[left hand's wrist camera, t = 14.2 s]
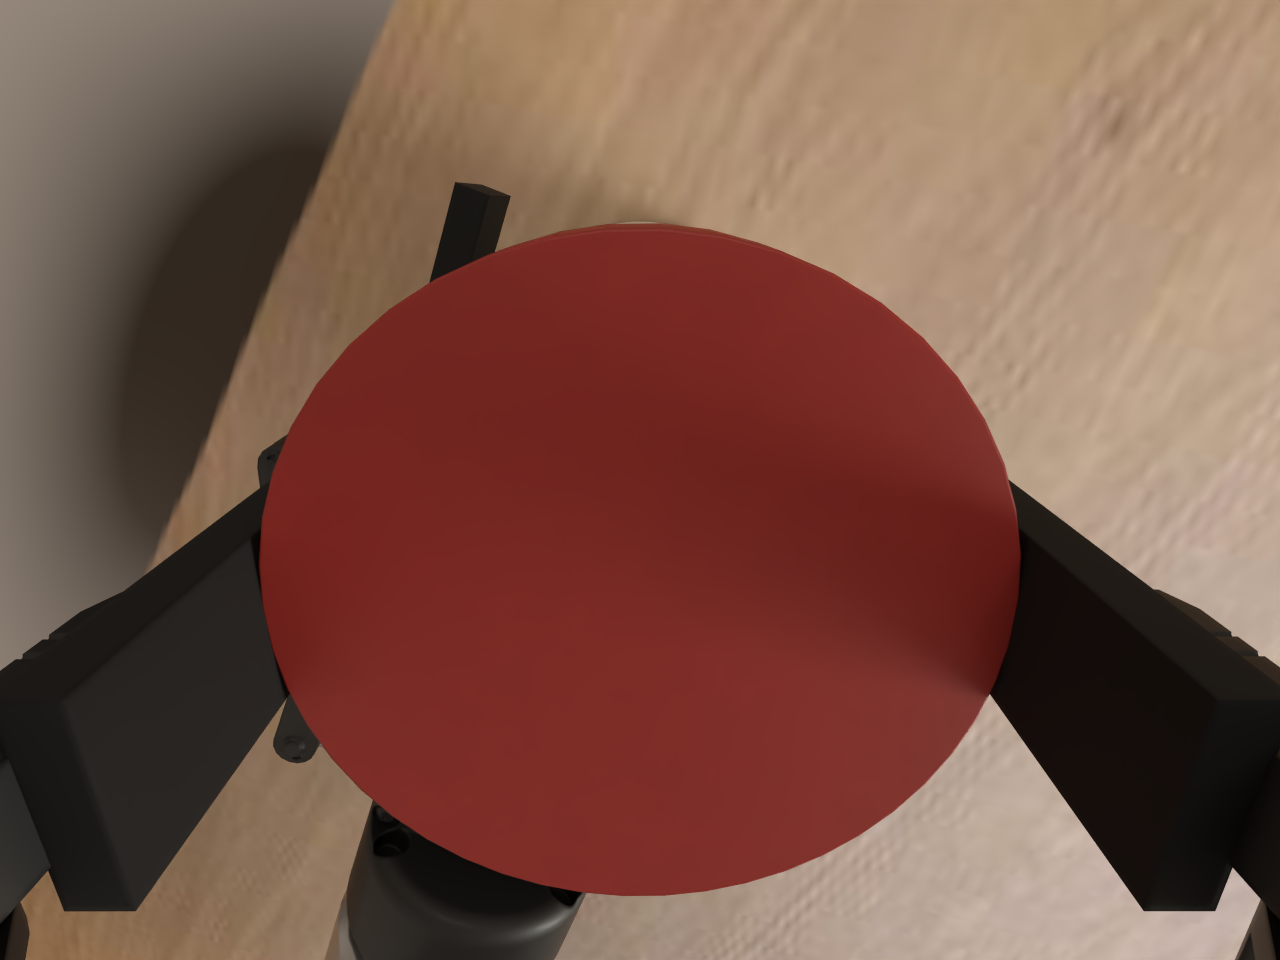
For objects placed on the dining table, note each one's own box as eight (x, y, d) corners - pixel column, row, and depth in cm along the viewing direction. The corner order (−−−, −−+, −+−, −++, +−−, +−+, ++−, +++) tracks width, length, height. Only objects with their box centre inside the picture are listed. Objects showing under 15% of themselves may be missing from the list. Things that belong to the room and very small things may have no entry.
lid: (1039, 244, 10) (1120, 253, 8) (900, 822, 14) (937, 909, 12) (273, 201, 10) (197, 201, 8) (345, 800, 14) (304, 884, 12)
